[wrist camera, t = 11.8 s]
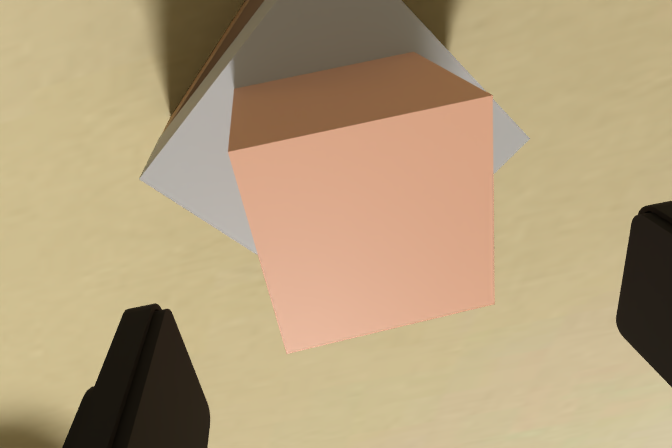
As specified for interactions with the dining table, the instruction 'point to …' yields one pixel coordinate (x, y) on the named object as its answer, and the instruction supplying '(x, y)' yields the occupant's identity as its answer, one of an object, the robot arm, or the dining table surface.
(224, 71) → the tower top
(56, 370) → the dining table surface
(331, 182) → the block
